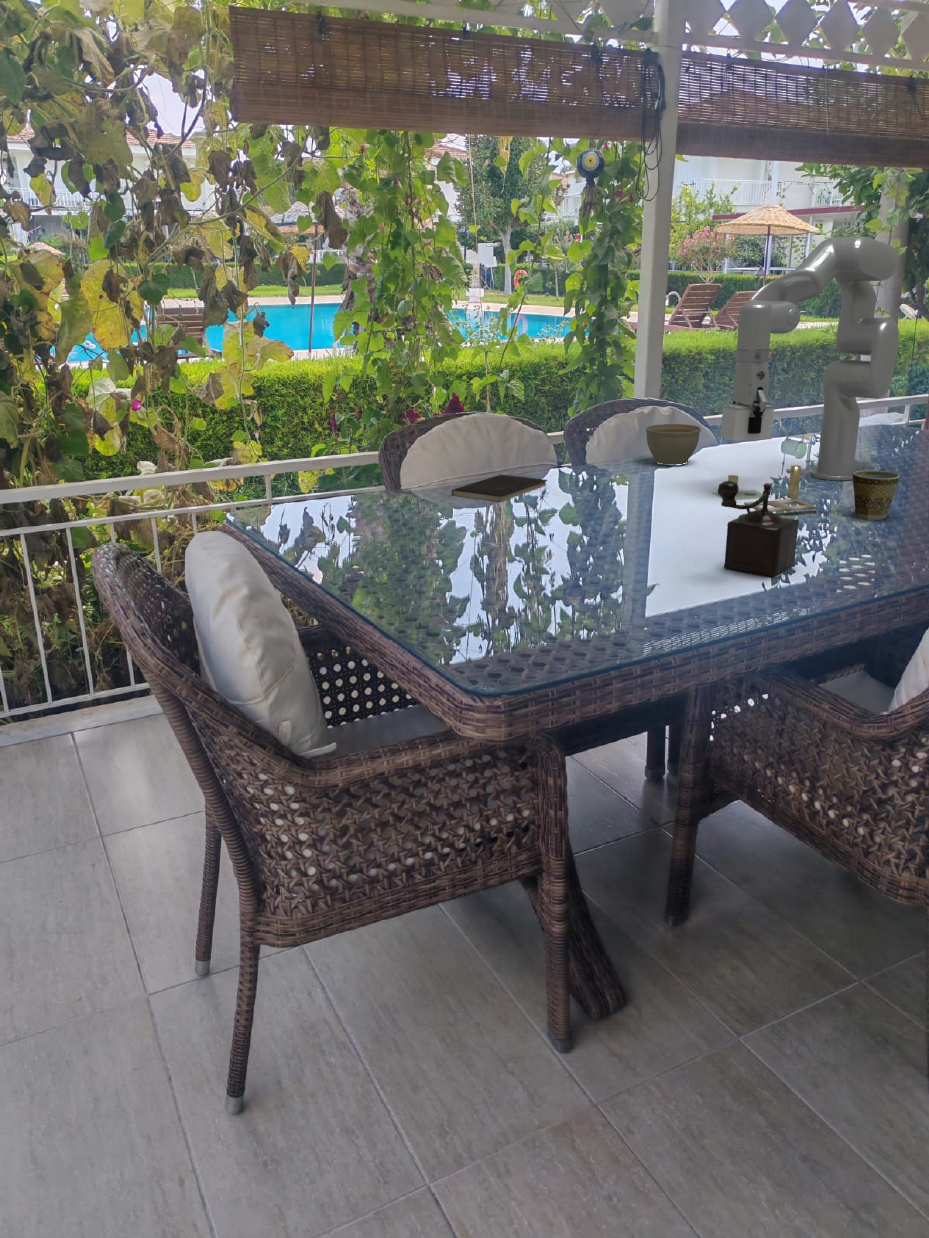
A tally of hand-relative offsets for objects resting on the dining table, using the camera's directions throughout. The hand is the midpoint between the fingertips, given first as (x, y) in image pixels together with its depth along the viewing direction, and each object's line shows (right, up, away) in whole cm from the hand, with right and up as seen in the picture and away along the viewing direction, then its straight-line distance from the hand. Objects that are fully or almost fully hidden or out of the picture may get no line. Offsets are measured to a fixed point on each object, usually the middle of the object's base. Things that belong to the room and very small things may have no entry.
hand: (746, 430), depth 234 cm
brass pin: (+12, -17, +2) cm, 21 cm away
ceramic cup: (+25, -23, -12) cm, 36 cm away
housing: (0, -2, +1) cm, 2 cm away
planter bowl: (-7, 0, +53) cm, 54 cm away
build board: (+6, -21, -7) cm, 23 cm away
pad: (0, -16, +6) cm, 17 cm away
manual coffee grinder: (-14, -37, -50) cm, 64 cm away
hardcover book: (-60, -13, +23) cm, 66 cm away
